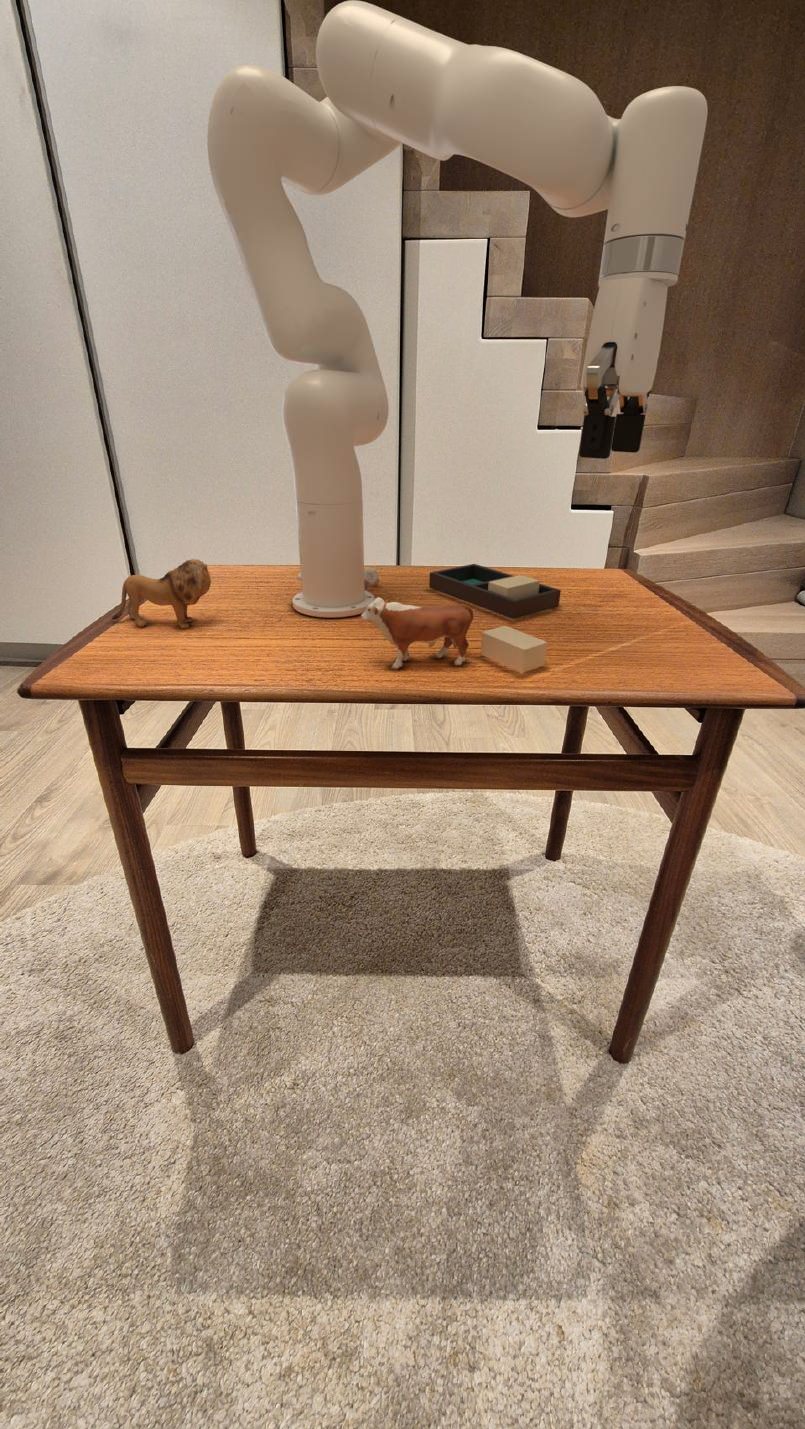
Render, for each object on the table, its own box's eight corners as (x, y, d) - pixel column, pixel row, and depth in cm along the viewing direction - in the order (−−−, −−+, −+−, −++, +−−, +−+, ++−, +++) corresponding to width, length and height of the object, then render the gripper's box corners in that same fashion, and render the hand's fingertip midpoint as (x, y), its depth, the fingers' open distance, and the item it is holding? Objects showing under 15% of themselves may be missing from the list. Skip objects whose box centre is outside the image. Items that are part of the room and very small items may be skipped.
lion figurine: (221, 616, 88) (212, 555, 83) (212, 629, 83) (202, 564, 79) (119, 617, 87) (105, 554, 83) (104, 629, 82) (89, 564, 78)
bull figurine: (362, 656, 75) (360, 593, 71) (468, 654, 76) (472, 591, 72) (362, 671, 71) (360, 604, 67) (474, 668, 72) (479, 603, 68)
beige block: (486, 604, 92) (488, 581, 90) (518, 596, 96) (520, 574, 94) (505, 611, 89) (507, 588, 88) (537, 602, 93) (540, 580, 91)
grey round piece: (359, 584, 103) (359, 566, 102) (381, 584, 103) (381, 567, 102) (357, 590, 100) (357, 572, 99) (379, 590, 100) (379, 572, 98)
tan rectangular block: (521, 677, 70) (524, 649, 68) (479, 658, 75) (482, 631, 73) (544, 669, 72) (547, 642, 70) (502, 651, 77) (505, 625, 75)
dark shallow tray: (512, 622, 87) (514, 601, 85) (429, 590, 100) (429, 572, 99) (558, 609, 92) (561, 590, 90) (473, 581, 105) (474, 563, 104)
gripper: (630, 282, 67) (605, 448, 76) (568, 257, 55) (546, 458, 63) (701, 276, 63) (666, 451, 72) (651, 247, 51) (616, 463, 59)
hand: (610, 454), depth 67 cm, fingers open, 9 cm apart
